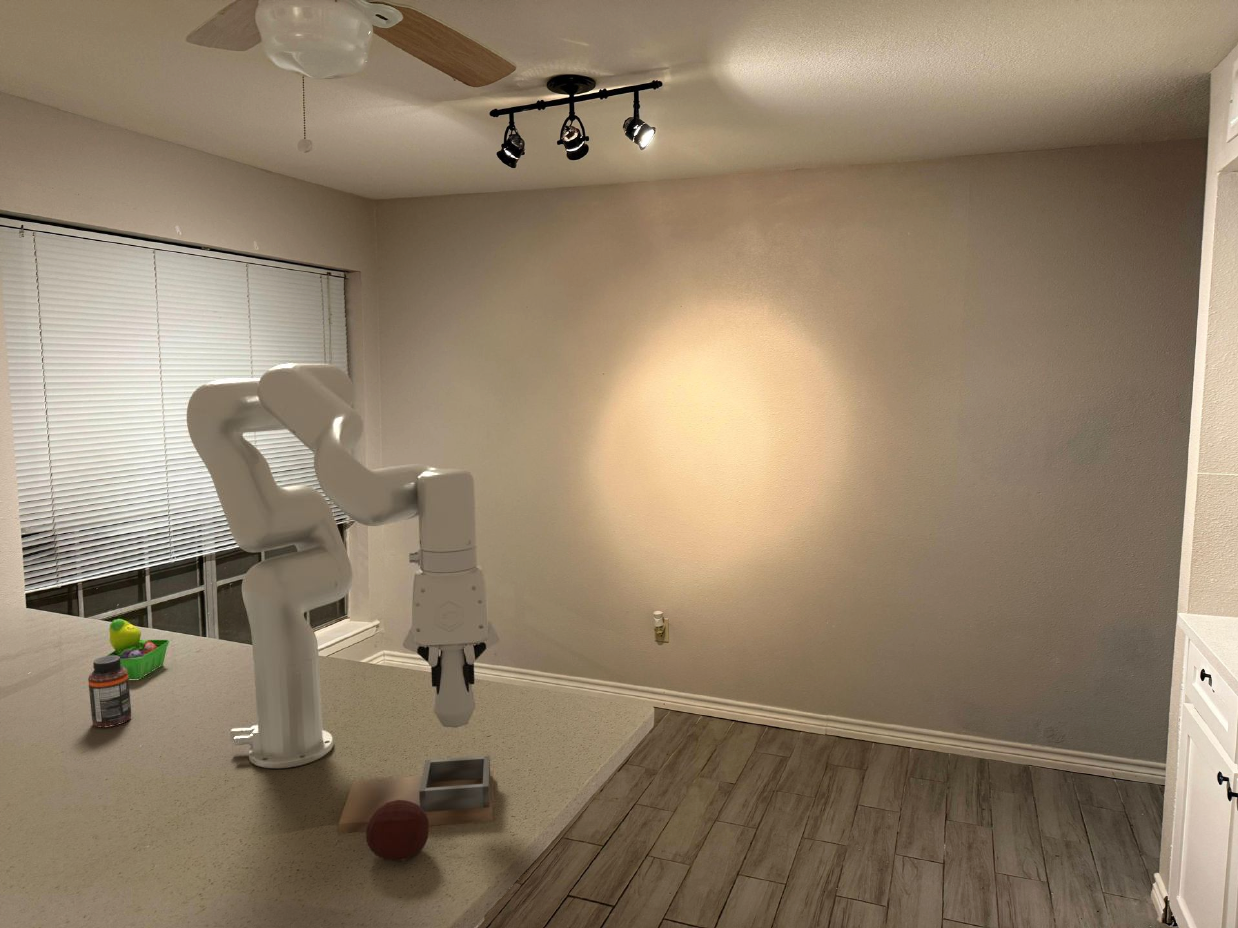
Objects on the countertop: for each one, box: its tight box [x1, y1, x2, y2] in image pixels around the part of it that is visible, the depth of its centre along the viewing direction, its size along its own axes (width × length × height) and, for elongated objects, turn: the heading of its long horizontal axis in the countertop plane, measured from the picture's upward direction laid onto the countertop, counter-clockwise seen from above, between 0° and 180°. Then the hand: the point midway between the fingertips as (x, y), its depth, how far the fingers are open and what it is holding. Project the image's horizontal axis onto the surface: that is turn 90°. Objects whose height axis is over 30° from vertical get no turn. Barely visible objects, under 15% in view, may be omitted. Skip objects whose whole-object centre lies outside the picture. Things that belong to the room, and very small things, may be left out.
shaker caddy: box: [337, 755, 494, 834], centre depth 120 cm, size 20×12×4 cm, turn 98°
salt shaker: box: [432, 645, 477, 729], centre depth 119 cm, size 6×6×13 cm
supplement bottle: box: [87, 655, 132, 728], centre depth 149 cm, size 6×6×11 cm
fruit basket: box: [106, 618, 170, 679], centre depth 173 cm, size 11×9×11 cm
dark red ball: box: [365, 800, 430, 862], centre depth 107 cm, size 7×8×7 cm
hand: (453, 688), depth 119 cm, fingers closed on salt shaker, 3 cm apart
